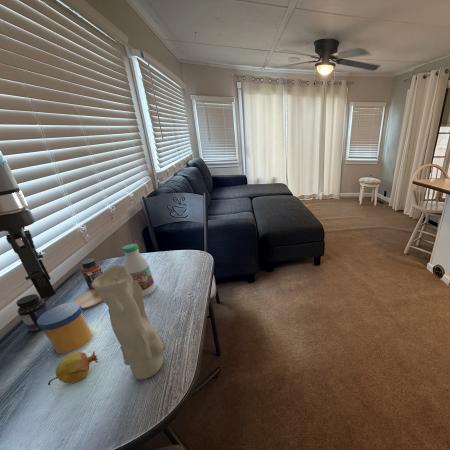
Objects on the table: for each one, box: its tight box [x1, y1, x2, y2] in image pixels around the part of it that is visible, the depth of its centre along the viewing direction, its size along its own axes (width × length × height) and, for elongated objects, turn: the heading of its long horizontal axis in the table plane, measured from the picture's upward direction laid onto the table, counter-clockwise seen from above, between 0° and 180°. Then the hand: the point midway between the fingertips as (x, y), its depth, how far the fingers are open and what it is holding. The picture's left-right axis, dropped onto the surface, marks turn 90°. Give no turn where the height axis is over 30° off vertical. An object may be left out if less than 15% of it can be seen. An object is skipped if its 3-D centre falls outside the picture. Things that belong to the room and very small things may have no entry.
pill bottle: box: [15, 293, 50, 333], centre depth 77 cm, size 6×6×11 cm
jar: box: [43, 312, 93, 354], centre depth 71 cm, size 8×8×10 cm
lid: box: [37, 301, 84, 331], centre depth 69 cm, size 9×9×2 cm
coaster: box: [71, 288, 104, 310], centre depth 91 cm, size 12×12×1 cm
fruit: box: [47, 351, 99, 386], centre depth 61 cm, size 7×7×10 cm
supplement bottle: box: [80, 258, 104, 289], centre depth 98 cm, size 6×6×11 cm
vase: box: [92, 264, 167, 380], centre depth 58 cm, size 9×8×30 cm
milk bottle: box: [122, 243, 156, 297], centre depth 91 cm, size 8×8×20 cm
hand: (46, 288), depth 65 cm, fingers open, 10 cm apart
